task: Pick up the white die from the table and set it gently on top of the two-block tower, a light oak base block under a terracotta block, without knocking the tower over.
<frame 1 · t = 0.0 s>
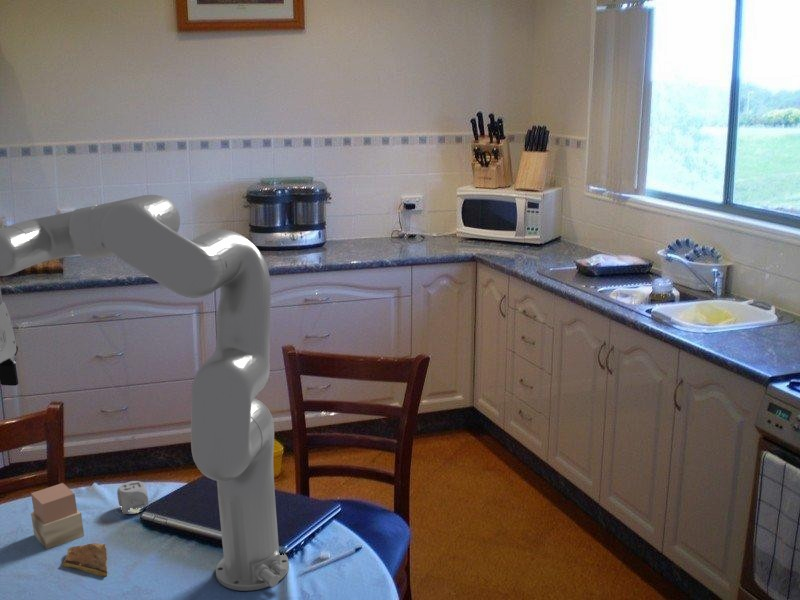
tower base: (59, 536, 166), on the table, touching tower top
die: (134, 509, 176), on the table
tower top: (55, 512, 165), point 5 cm above the table, touching tower base
shard: (96, 563, 158), on the table
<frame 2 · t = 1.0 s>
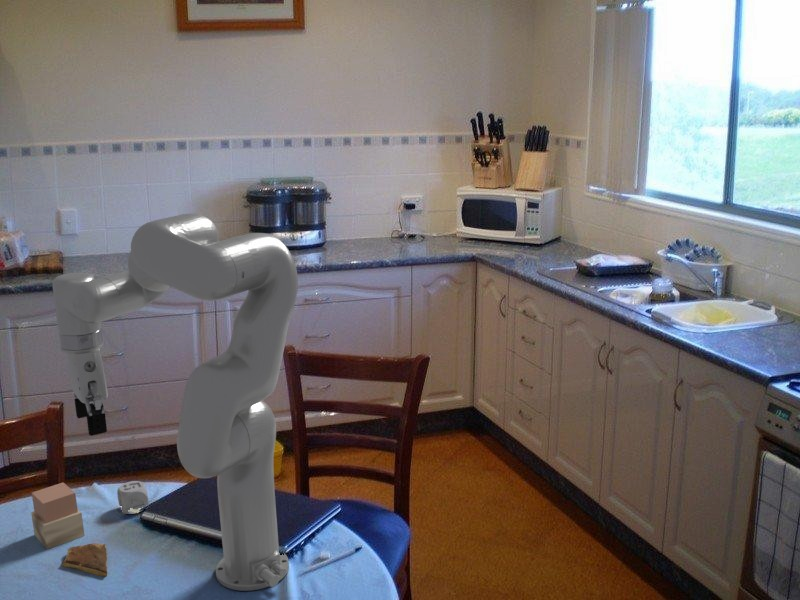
hand: (91, 424, 166), 20 cm above the table, tool pointing down, fingers open, 9 cm apart
nothing on the table moved.
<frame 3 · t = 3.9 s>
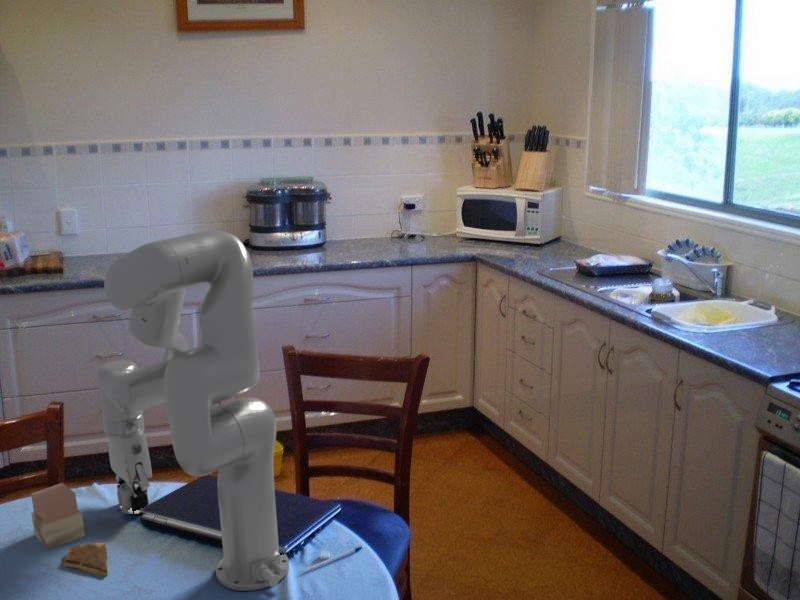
hand: (133, 506, 175), 1 cm above the table, tool pointing down, fingers closed on die, 5 cm apart
die: (134, 509, 176), on the table, touching gripper
everything else where it was.
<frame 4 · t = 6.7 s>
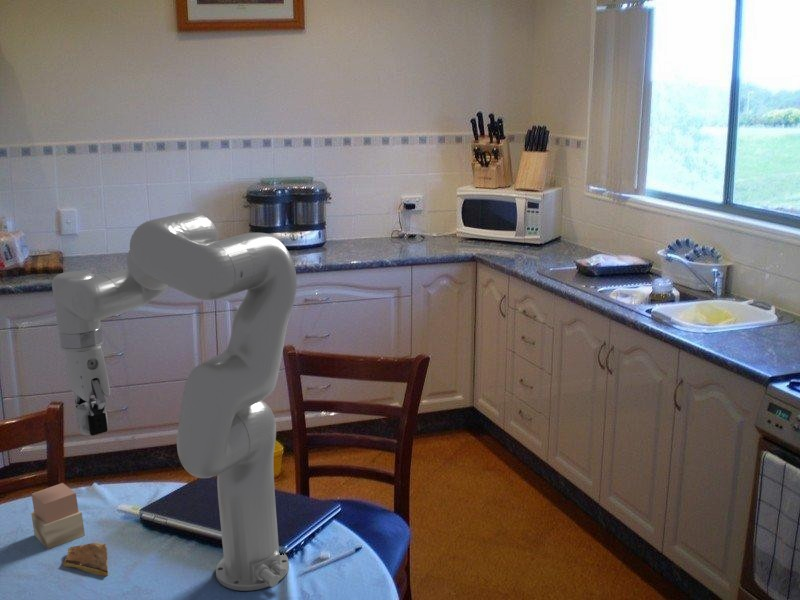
hand: (92, 427, 167), 20 cm above the table, tool pointing down, fingers closed on die, 5 cm apart
die: (93, 431, 167), point 19 cm above the table, touching gripper
everything else where it was.
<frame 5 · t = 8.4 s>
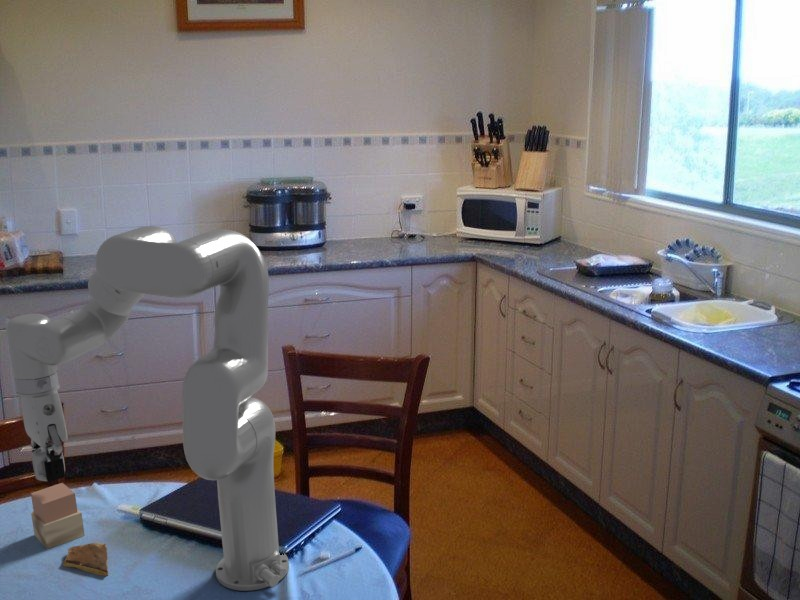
hand: (49, 472, 163), 13 cm above the table, tool pointing down, fingers closed on die, 5 cm apart
die: (50, 476, 163), point 12 cm above the table, touching gripper
everything else where it was.
when the fingers open (11 cm above the table, at t = 9.6 s): die drops 1 cm, resting on tower top.
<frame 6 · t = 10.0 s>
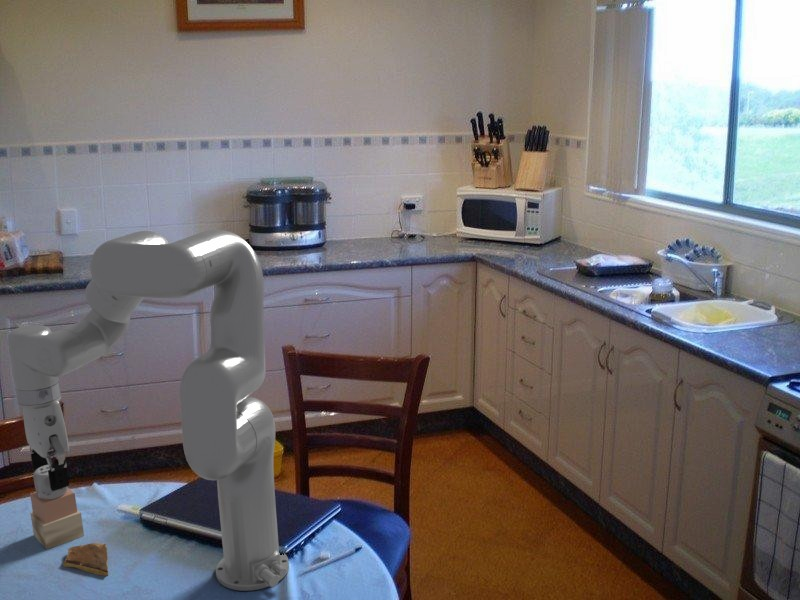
hand: (51, 479, 163), 12 cm above the table, tool pointing down, fingers open, 9 cm apart
die: (52, 494, 164), point 9 cm above the table, touching tower top
tower top: (55, 512, 165), point 5 cm above the table, touching die, tower base
everything else where it was.
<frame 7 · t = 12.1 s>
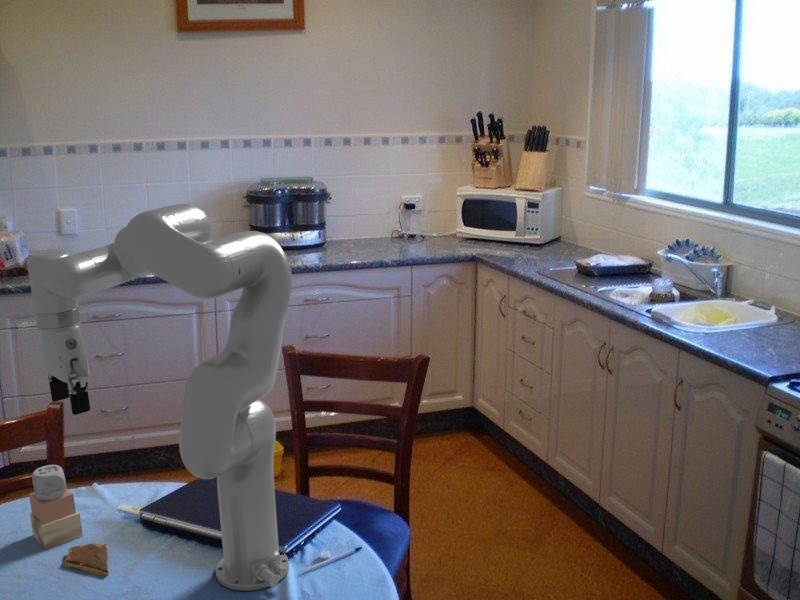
hand: (70, 405, 164), 25 cm above the table, tool pointing down, fingers open, 9 cm apart
nothing on the table moved.
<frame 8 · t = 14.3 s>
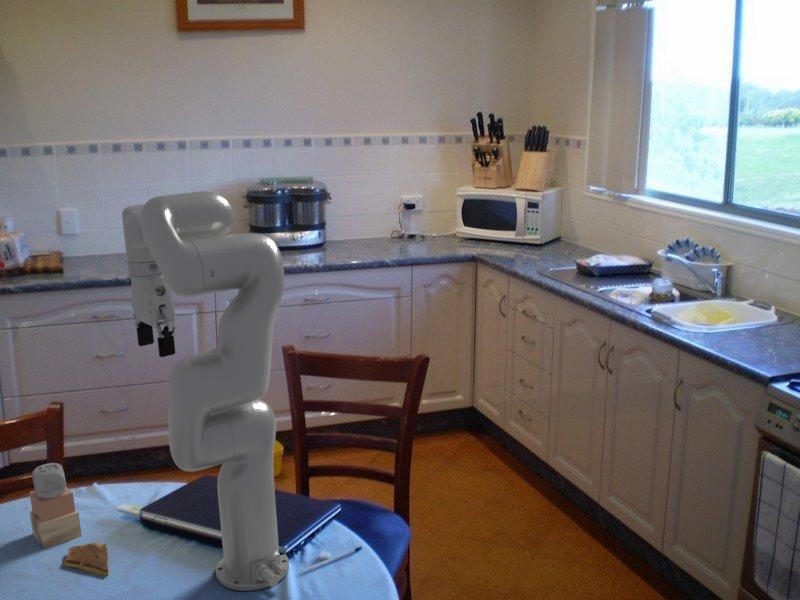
hand: (156, 349, 177), 30 cm above the table, tool pointing down, fingers open, 9 cm apart
nothing on the table moved.
at the end: die 0.3 cm off-centre on the tower base, point 8.8 cm above the tower base's base; tower top tilted 0°; tower base moved 0.6 cm from its start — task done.
